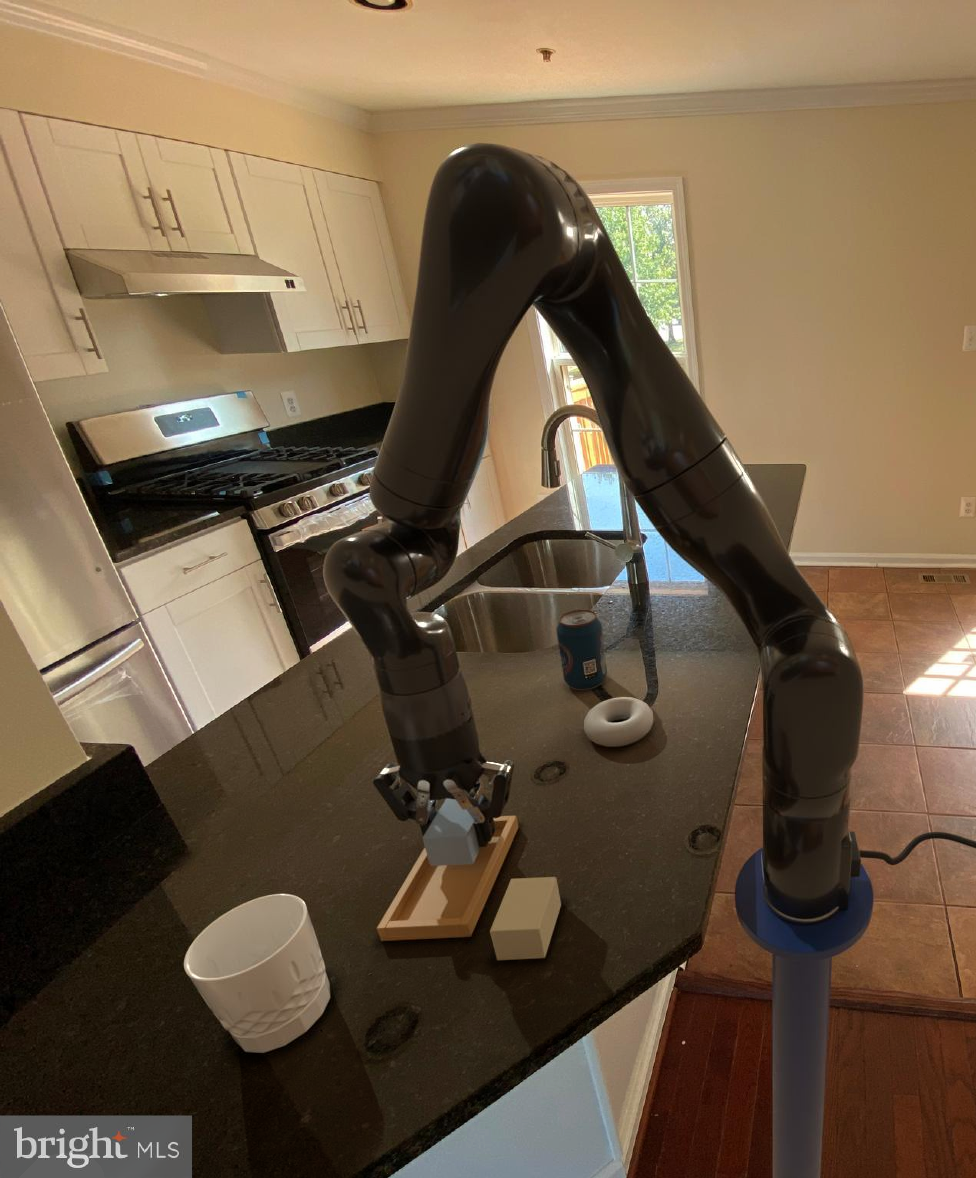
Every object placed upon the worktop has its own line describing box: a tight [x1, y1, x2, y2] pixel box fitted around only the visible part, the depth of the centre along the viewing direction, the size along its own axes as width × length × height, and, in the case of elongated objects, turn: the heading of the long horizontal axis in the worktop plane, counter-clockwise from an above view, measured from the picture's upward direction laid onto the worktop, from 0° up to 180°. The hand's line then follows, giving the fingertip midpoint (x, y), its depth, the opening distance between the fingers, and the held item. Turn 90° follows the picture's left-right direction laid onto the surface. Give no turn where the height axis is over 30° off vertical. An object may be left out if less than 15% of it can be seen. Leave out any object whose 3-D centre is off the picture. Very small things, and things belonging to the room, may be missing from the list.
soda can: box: [556, 609, 608, 691], centre depth 103 cm, size 7×7×12 cm
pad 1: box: [422, 798, 481, 866], centre depth 70 cm, size 4×6×4 cm
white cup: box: [183, 893, 331, 1054], centre depth 54 cm, size 8×8×10 cm
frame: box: [376, 815, 519, 942], centre depth 68 cm, size 9×15×2 cm, turn 3°
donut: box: [583, 696, 654, 748], centre depth 93 cm, size 10×4×10 cm
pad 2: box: [489, 876, 562, 961], centre depth 62 cm, size 4×6×4 cm
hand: (462, 841), depth 71 cm, fingers closed on pad 1, 4 cm apart
